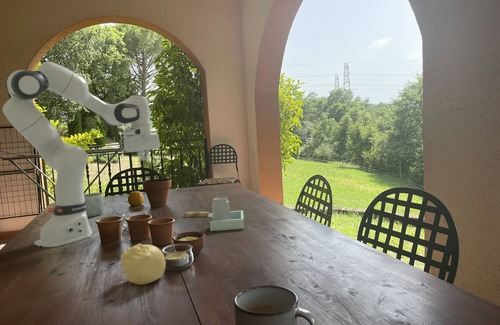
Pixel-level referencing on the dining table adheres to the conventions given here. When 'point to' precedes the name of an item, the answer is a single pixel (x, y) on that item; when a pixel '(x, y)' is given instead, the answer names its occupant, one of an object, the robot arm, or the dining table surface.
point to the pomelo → (143, 264)
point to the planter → (94, 204)
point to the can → (220, 209)
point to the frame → (229, 222)
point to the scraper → (198, 214)
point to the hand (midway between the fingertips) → (144, 160)
